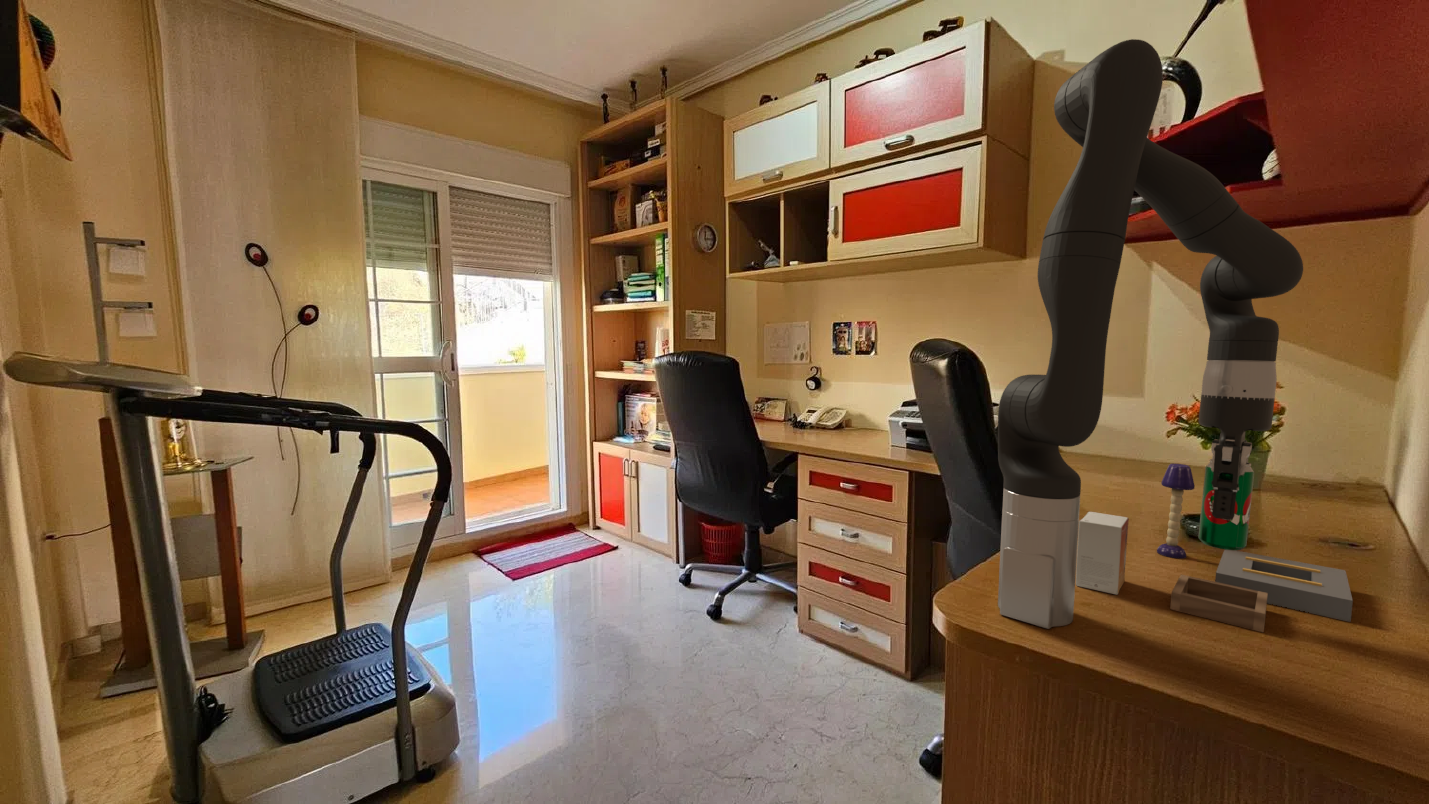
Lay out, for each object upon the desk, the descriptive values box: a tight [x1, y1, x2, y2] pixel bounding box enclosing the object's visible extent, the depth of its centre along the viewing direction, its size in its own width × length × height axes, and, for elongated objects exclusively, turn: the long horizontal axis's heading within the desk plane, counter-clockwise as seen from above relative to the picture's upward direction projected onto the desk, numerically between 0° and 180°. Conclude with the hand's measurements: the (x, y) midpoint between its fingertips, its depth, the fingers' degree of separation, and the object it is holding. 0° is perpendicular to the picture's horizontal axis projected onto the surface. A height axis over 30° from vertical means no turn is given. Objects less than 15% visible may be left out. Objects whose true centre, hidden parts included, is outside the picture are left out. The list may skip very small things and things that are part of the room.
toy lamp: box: [1156, 463, 1196, 559], centre depth 103 cm, size 5×5×17 cm
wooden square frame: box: [1170, 574, 1268, 633], centre depth 81 cm, size 10×10×2 cm
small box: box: [1075, 511, 1130, 596], centre depth 90 cm, size 8×6×10 cm
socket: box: [1214, 549, 1354, 623], centre depth 88 cm, size 16×14×3 cm
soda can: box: [1198, 458, 1255, 551], centre depth 80 cm, size 5×5×12 cm
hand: (1224, 514), depth 80 cm, fingers closed on soda can, 5 cm apart
